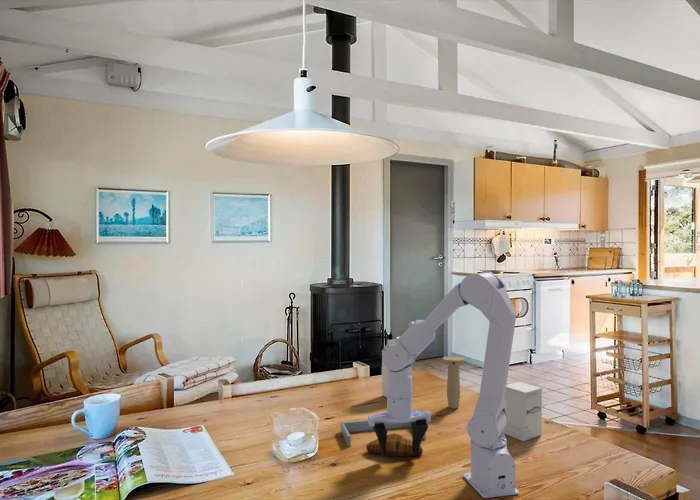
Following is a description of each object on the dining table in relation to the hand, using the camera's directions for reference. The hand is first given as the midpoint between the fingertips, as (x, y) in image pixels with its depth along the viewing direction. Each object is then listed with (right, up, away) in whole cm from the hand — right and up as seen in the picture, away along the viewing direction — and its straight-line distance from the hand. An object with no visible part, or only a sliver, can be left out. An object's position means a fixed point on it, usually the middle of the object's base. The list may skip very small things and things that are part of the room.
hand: (399, 454), depth 111 cm
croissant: (-1, -2, +4) cm, 5 cm away
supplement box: (+34, -2, +15) cm, 37 cm away
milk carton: (+4, -1, +46) cm, 46 cm away
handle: (+20, -1, +36) cm, 41 cm away
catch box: (-3, -1, +15) cm, 15 cm away
